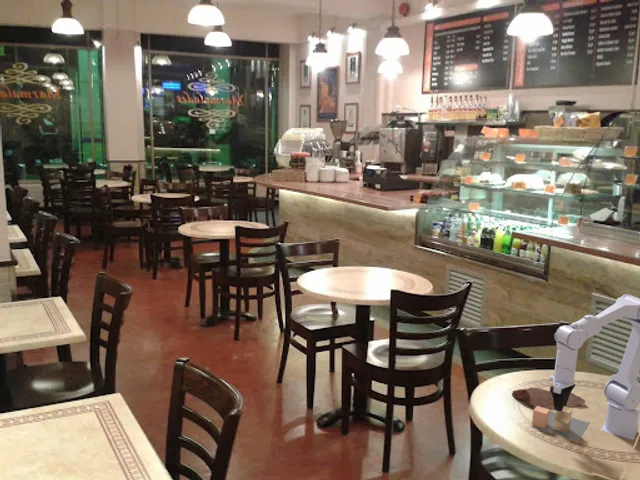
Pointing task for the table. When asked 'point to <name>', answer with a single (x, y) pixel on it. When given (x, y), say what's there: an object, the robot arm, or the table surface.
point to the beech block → (563, 420)
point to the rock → (543, 398)
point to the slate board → (573, 434)
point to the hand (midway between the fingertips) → (560, 407)
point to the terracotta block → (540, 417)
